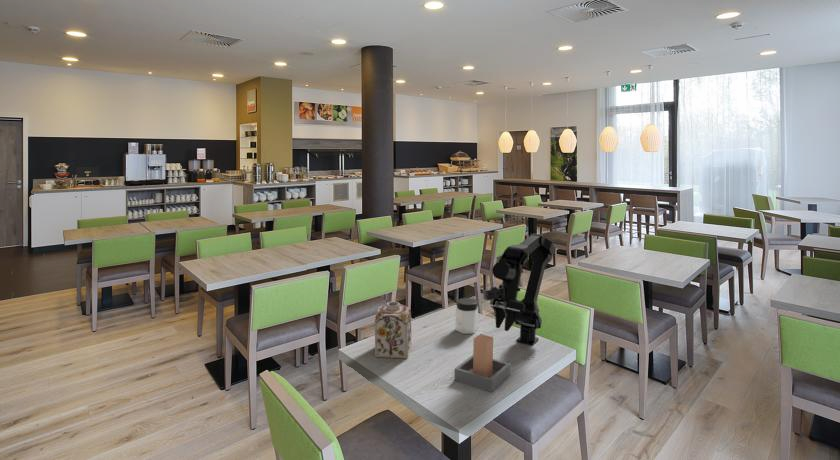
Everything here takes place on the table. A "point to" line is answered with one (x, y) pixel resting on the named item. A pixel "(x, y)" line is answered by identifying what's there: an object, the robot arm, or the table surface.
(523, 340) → the robot arm
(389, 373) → the table surface
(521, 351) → the table surface
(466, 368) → the box
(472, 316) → the jar
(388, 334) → the decorative jar
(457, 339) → the table surface
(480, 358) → the terracotta block
